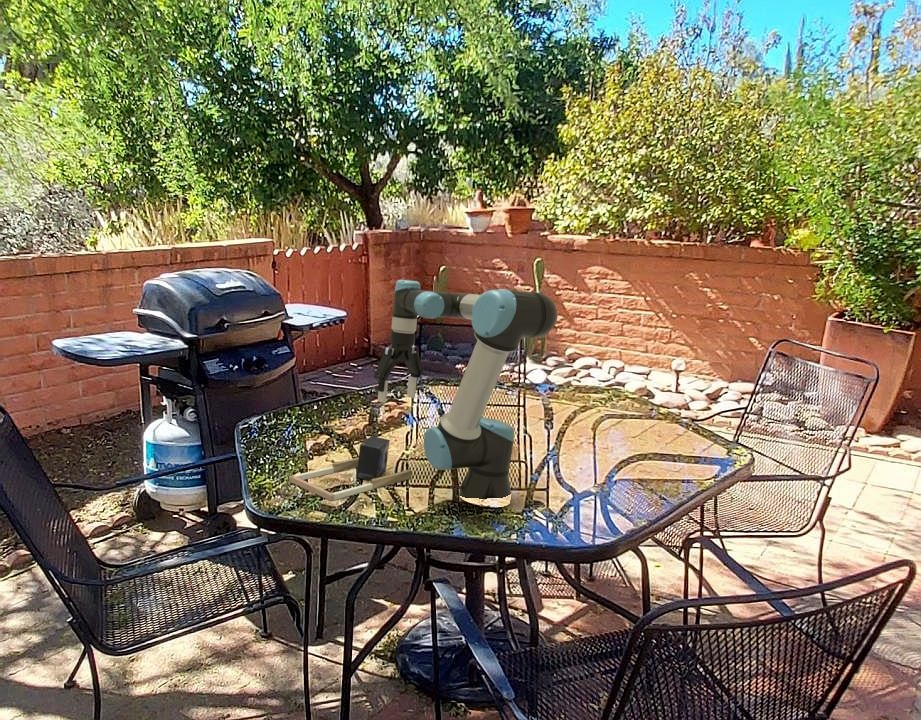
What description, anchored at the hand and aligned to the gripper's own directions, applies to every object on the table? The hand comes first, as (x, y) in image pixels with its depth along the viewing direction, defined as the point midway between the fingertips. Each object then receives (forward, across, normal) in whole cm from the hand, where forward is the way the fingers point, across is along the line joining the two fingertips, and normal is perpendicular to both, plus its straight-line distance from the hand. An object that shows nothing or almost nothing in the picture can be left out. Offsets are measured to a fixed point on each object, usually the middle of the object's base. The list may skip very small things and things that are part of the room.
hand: (396, 399), depth 229 cm
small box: (+22, +11, +2) cm, 24 cm away
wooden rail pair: (+21, +11, +2) cm, 24 cm away
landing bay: (+22, +27, +2) cm, 34 cm away
